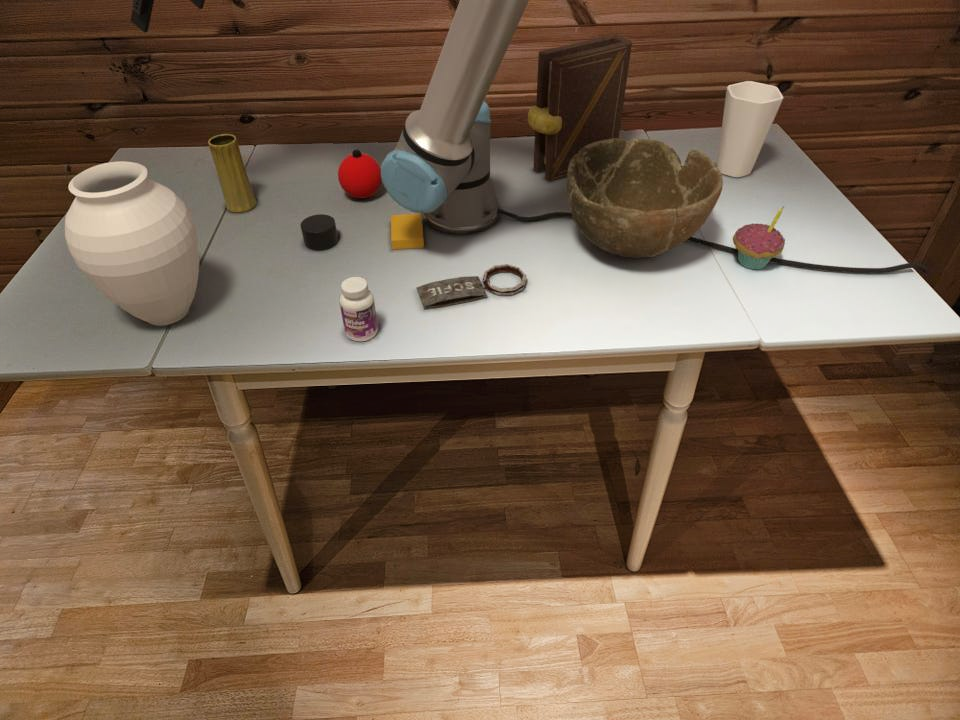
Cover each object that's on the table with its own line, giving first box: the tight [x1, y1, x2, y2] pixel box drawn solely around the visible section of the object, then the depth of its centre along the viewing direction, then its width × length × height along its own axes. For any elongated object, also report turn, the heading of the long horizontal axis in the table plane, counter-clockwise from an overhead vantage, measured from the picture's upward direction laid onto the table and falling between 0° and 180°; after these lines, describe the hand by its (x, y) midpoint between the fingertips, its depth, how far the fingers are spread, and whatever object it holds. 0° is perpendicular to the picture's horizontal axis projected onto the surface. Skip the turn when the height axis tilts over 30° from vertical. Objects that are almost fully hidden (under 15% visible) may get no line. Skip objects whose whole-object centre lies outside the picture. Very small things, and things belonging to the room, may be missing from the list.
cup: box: [716, 80, 784, 178], centre depth 138 cm, size 11×10×17 cm
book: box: [527, 34, 633, 182], centre depth 137 cm, size 22×8×25 cm, turn 120°
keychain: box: [416, 263, 527, 309], centre depth 113 cm, size 8×19×2 cm, turn 106°
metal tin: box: [300, 213, 339, 252], centre depth 124 cm, size 6×6×4 cm
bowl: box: [566, 137, 724, 259], centre depth 119 cm, size 28×27×15 cm
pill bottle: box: [338, 276, 379, 342], centre depth 103 cm, size 5×5×10 cm
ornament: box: [337, 148, 383, 199], centre depth 134 cm, size 9×9×10 cm
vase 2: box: [207, 133, 257, 214], centre depth 131 cm, size 6×6×14 cm
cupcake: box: [732, 205, 786, 270], centre depth 115 cm, size 9×8×12 cm
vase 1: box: [64, 161, 200, 327], centre depth 102 cm, size 18×18×25 cm
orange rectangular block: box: [390, 213, 425, 250], centre depth 126 cm, size 6×9×2 cm, turn 6°
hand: (168, 14), depth 112 cm, fingers open, 13 cm apart
